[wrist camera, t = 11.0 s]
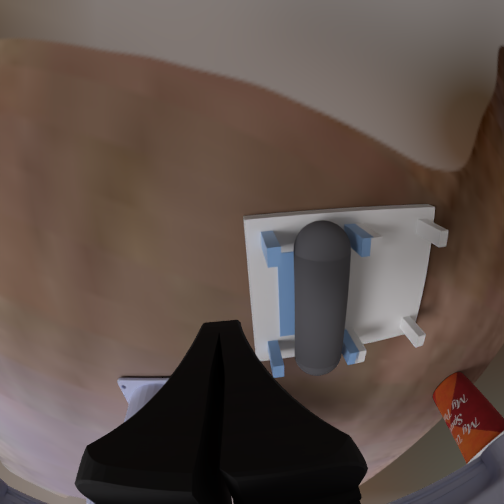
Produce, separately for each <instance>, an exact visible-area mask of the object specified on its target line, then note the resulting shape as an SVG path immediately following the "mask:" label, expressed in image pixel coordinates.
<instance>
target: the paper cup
mask: <svg viewBox="0 0 504 504" xmlns="http://www.w3.org/2000/svg"><path fill="white" fill-rule="evenodd" d="M433 399H434V401H435V403H436V405H437V407H438V409H439V411H440V413H441V414H442V416H443V418H444V420H445V422H446V424H447V426H448V428H449V429H450V431H451V433H452V435H453V437H454V439H455V441H456V443H457V445H458V447H459V449H460V451H461V453H462V455H463V457H464V459H465V461H466V463H467V464H468V463H470V462H471V461H473V460H474V459H476V458H478V457H479V456H481V454H482V452H483V451H484V450H485V449H486V448H487V447H488V446H489V445H490V444H491V443H492V442H493V441H495V440H496V439H497V438H498V437H500V436H501V435H503V434H504V418H503V417H502V416H501V415H500V414H499V412H498V411H497V410H496V409H495V408H494V407H493V406H492V404H491V403H490V402H489V401H488V400H487V399H486V398H485V397H484V396H483V395H482V393H481V392H480V391H479V390H478V389H477V388H476V387H475V386H474V385H473V384H472V382H471V381H470V380H469V379H468V378H467V377H466V376H465V375H464V374H463V373H461V372H456V373H454V374H452V375H450V376H449V377H447V378H446V379H445V380H444V381H443V382H442V383H441V384H440V385H439V386H438V387H437V388H436V390H435V392H434V394H433Z"/></svg>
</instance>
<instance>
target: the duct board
mask: <svg viewBox="0 0 504 504" xmlns="http://www.w3.org/2000/svg"><path fill="white" fill-rule="evenodd" d="M434 215H435V207H434V206H432V205H429V204H414V205H390V206H370V207H353V208H337V209H322V210H308V211H295V212H283V213H271V214H260V215H249V216H243V219H244V231H245V242H246V254H247V265H248V276H249V288H250V299H251V310H252V321H253V332H254V343H255V354H256V356H257V357H258V359H259V360H260V361H266V360H270V364H271V369H272V374H273V378H277V377H284V363H283V359H282V358H288V357H295V299H294V242H295V239H296V237H297V235H298V233H299V232H300V231H301V229H302V228H303V227H305V226H306V225H307V224H309V223H311V222H314V221H320V220H325V221H331V222H333V223H335V224H337V225H338V226H340V227H341V228H342V229H343V230H344V231H345V232H346V234H347V236H348V238H349V240H350V244H351V261H350V277H349V290H348V301H347V312H346V321H345V330H344V338H343V346H342V354H343V356H344V358H345V360H346V362H347V364H348V365H351V364H355V363H359V362H364V360H365V355H366V349H365V347H364V345H363V344H366V343H370V342H375V341H379V340H383V339H387V338H391V337H395V336H399V335H403V334H405V335H406V336H407V338H408V339H409V340H410V341H411V343H412V344H413V345H414V346H415V348H416V347H419V346H422V345H423V343H424V340H425V336H426V334H425V333H424V332H423V330H422V329H421V328H420V327H419V326H418V325H417V324H416V319H417V315H418V311H419V307H420V302H421V298H422V293H423V288H424V283H425V278H426V273H427V267H428V261H429V255H430V248H431V243H432V244H434V245H436V246H437V247H445V246H446V244H447V238H448V230H447V229H445V228H443V227H441V226H439V225H437V224H435V223H434Z"/></svg>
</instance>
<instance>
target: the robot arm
mask: <svg viewBox="0 0 504 504" xmlns="http://www.w3.org/2000/svg"><path fill="white" fill-rule="evenodd" d="M117 382H118V385H119V387H120V388H121V390H122V392H123V394H124V396H125V398H126V400H127V402H128V403H129V406H128V409H127V413H126V417H125V420H124V423H123V424H121V425H120V426H119V427H117V428H116V429H114V430H113V431H111V432H110V433H108V434H106V435H105V436H103V437H101V438H100V439H98V440H96V441H95V442H93V443H91V444H89V445H87V447H86V449H85V451H84V454H83V456H82V459H81V463H80V466H79V470H78V473H77V477H76V481H75V485H76V487H77V489H78V490H79V491H80V492H81V493H82V494H83V495H84V496H85V497H87V502H86V504H232V499H231V496H232V498H233V503H234V504H361V503H360V499H361V494H360V490H359V487H358V486H359V484H360V483H361V481H362V479H363V478H364V476H365V475H366V473H367V470H368V467H367V464H366V461H365V459H364V457H363V455H362V454H361V452H360V450H359V449H358V447H357V445H356V444H355V443H354V441H353V440H352V438H351V437H350V436H349V435H348V434H346V433H344V432H342V431H340V430H338V429H337V428H335V427H333V426H331V425H330V424H328V423H327V422H325V421H323V420H322V419H320V418H319V417H318V416H316V415H315V414H313V413H312V412H310V411H309V410H308V409H307V408H305V407H304V406H303V405H302V404H300V403H299V402H298V401H297V400H296V399H294V398H293V397H292V396H291V395H290V394H289V393H288V392H287V391H286V390H285V389H284V388H282V386H281V385H280V384H279V383H278V382H277V381H276V380H275V379H274V378H273V377H272V376H271V374H270V373H269V372H268V371H267V369H266V368H265V367H264V366H263V364H262V363H261V362H260V360H259V359H258V357H257V356H256V354H255V353H254V351H253V349H252V348H251V346H250V344H249V343H248V341H247V339H246V337H245V335H244V332H243V330H242V327H241V322H239V321H238V320H230V321H219V322H208V323H204V324H203V325H202V326H201V328H200V330H199V332H198V334H197V336H196V338H195V340H194V342H193V343H192V345H191V347H190V349H189V350H188V352H187V353H186V355H185V357H184V358H183V360H182V361H181V363H180V364H179V366H178V367H177V368H176V370H175V371H174V373H173V374H172V375H171V377H170V378H119V379H118V381H117ZM0 504H47V503H45V502H42V501H40V500H38V499H35V498H33V497H31V496H28V495H26V494H24V493H22V492H20V491H18V490H16V489H14V488H12V487H10V486H8V485H7V484H6V483H5V482H4V481H3V480H1V479H0ZM387 504H504V434H503V435H501V436H500V437H498V438H497V439H496V440H495V441H493V442H492V443H491V444H490V445H489V446H488V447H487V448H486V449H485V450H484V451H483V452H482V454H481V456H479V457H478V458H476V459H474V460H473V461H471V462H470V463H468V464H467V465H465V466H463V467H462V468H460V469H458V470H456V471H455V472H453V473H451V474H449V475H448V476H446V477H444V478H442V479H440V480H438V481H436V482H434V483H433V484H431V485H429V486H426V487H424V488H422V489H420V490H418V491H416V492H414V493H412V494H409V495H407V496H405V497H402V498H400V499H397V500H395V501H393V502H390V503H387Z"/></svg>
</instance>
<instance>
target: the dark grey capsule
mask: <svg viewBox="0 0 504 504" xmlns="http://www.w3.org/2000/svg"><path fill="white" fill-rule="evenodd" d="M350 261H351V244H350V240H349V238H348V236H347V234H346V232H345V231H344V230H343V229H342V228H341V227H340V226H338V225H337V224H335V223H333V222H331V221H325V220H320V221H314V222H311V223H309V224H307V225H306V226H305V227H303V228H302V229H301V231H300V232H299V233H298V235H297V237H296V239H295V242H294V299H295V360H296V362H297V364H298V366H299V367H300V368H301V369H302V370H303V371H304V372H306V373H308V374H310V375H315V376H319V375H324V374H327V373H329V372H331V371H332V370H333V369H334V368H335V367H336V366H337V365H338V363H339V361H340V358H341V354H342V346H343V338H344V330H345V321H346V312H347V301H348V290H349V277H350Z"/></svg>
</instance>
